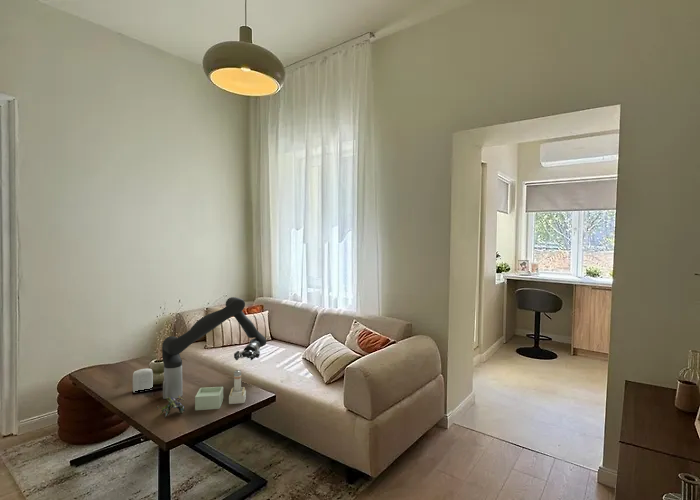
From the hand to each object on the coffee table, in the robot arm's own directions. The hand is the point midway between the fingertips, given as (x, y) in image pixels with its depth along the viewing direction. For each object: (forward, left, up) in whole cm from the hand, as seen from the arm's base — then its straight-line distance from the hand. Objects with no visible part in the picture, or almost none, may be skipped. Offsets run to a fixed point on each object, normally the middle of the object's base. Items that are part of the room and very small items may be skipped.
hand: (243, 358), depth 219 cm
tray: (-16, -14, -19) cm, 29 cm away
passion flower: (-32, -24, -20) cm, 45 cm away
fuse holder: (-2, -11, -19) cm, 23 cm away
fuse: (-2, -11, -15) cm, 19 cm away
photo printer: (-58, +12, -20) cm, 63 cm away
